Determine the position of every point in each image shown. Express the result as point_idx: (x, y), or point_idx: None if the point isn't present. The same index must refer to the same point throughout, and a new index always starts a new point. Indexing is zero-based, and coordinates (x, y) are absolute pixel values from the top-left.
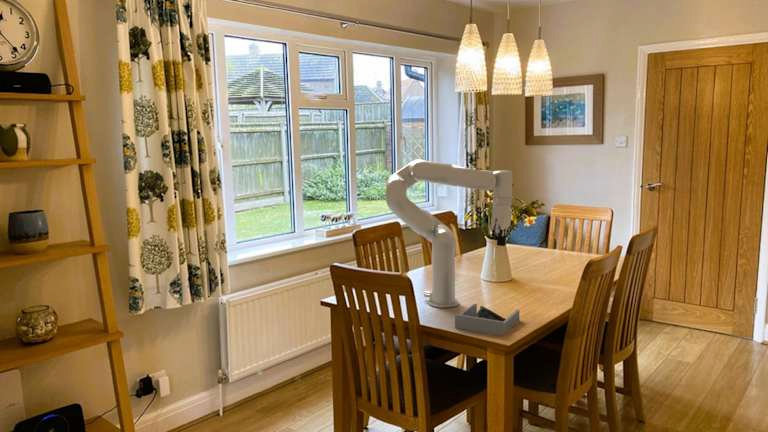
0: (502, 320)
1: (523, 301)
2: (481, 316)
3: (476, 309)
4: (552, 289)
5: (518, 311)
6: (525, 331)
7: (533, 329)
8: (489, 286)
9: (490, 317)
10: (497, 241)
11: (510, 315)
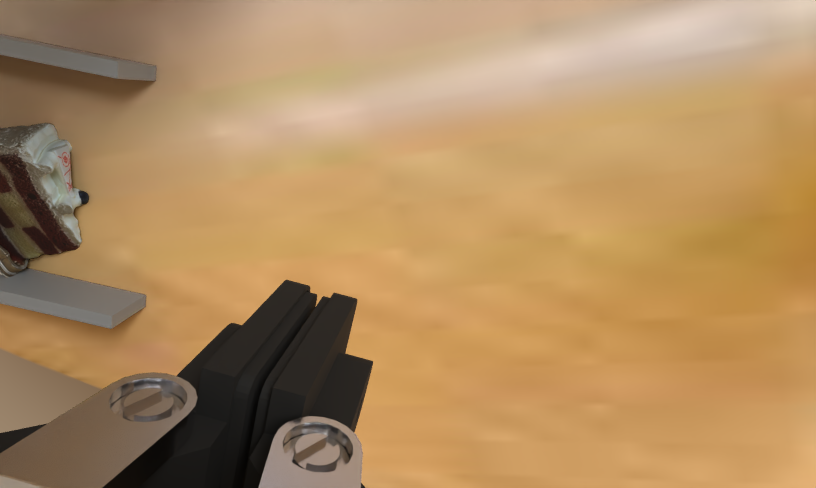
0: (3, 249)
1: (466, 305)
2: (40, 130)
3: (135, 79)
4: (760, 447)
5: (97, 323)
6: (19, 340)
7: (58, 369)
8: (798, 48)
9: (68, 176)
10: (260, 313)
11: (7, 293)
